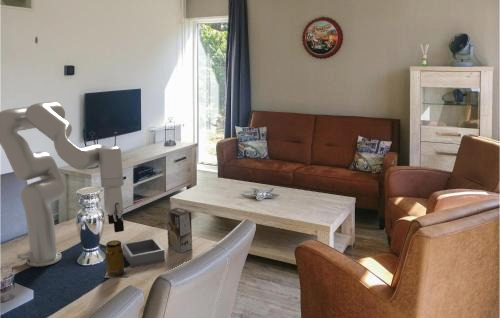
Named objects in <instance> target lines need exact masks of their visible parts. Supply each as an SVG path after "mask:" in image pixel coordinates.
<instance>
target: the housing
mask: <svg viewBox="0 0 500 318" xmlns="http://www.w3.org/2000/svg"><path fill="white" fill-rule="evenodd" d="M121 246H122V249H123V257H124V258H125V260H126V261H127V263H128V264H129V266H130V268H131V269H133V268H138V267H141V266H146V265H151V264H156V263H160V262H165V261H166V258H165V257H166V256H165V255H166V254H165V249H164V248H163V247H162V245H160V243H159V242H158V241H157V239H156V238H154V237H153V238H152V237H151V238H146V239H141V240H134V241H129V242H124V243H121Z"/></svg>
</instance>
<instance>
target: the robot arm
mask: <svg viewBox="0 0 500 318" xmlns="http://www.w3.org/2000/svg"><path fill="white" fill-rule="evenodd" d="M65 118H66V111H65V109H64V107H63V106H62V105H61V104H60V103H59V102H55V101H45V102H44V101H43V102H38V103H33V104H31V105H29V106H25V107H24V106H23V107H14V108H8V109H4V110H2V111H0V146H1V147H2V149H3V152H4V154H5V156H6V158H7V161H8V162H9V164H10V166H11V169H12V170H13V174H14V175H15V176H16V178H17V179H18V180H19V181H23V182H24V181H26V182H27V181H30V180H33V179H37V178H39V180H37V181H36V180H35V181H33V182H31V183H29V184H27V185H25V186H23V188H22V190H21V191H20V199H21V203H22V205H23V209H24V213H25V220H26V227H27V237H28V245H29V246H28V247H29V248H28V251H26V252H23V253H22V252H21V253H17V254H16V257H17V259H18V260H20V259H21V261H25V260H26V264H27V265H28V266H30V267H37V268H38V267H46V266H50V265H53V264H56V263H57V262H59V261H60V260H61V259H62V257H63V256H62V253H61V252H60V251H58V249H57V240H56V239H57V238H56V231H55V229H56V228H55V219H54V214H53V211H52V210H51V208H50V207H49V206H48V205H49V204H51V203H53V202H56V201H58V200H60V199H63V197H64V196H65V194H66V191H67V188H66V183H65V180H64V178H63V176H62V173H61V171H60V169H59V167H58V165H57V163H56V160H55V159H54V157H53V156H52V155H51V154H50V153H49V152H46V151H36V152H33V151H32V150H31V148H30V145H29V143H28V142H27V140H26V139H25V138H24V137H23V136H22V135H21V134H19V133H18V132H20V131H26V130H31V129H36V130H38V131H40V133H42V134H43V135H45V137H47V138H48V139H50V140H51V141H52V142H53V147H54V150H55V152H56V153H57V155H58V156H59V158H60V159H61V160H62V161H64V162H65V163H66V164H67V165H69V166H70V167H71V168H74V169H76V170H79V171H84V170H88V169H90V168H94V167H97V166H99V174H100V184H101V187H102V188H103V202H104V206H103V207H104V210H105V213H107V220H108V224H109V225H113V229H114V233H121V232H124V230H125V224H124V217H123V213H124V203H123V193H122V192H123V191H122V186H124V184H125V183H124V174H123V172H124V170H123V161H122V158H123V157H122V149H121V148H120V147H118V146H116V145H103V144H100V143H96V144H95V143H94V144H91V145H86V146H83V147H78V146H77V145H75V144H74V143H73V142H71V140H69V137H70V135H71V134H72V132H73V126H72V124H71V123H69V121H67V120H65Z"/></svg>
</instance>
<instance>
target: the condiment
mask: <svg viewBox="0 0 500 318" xmlns="http://www.w3.org/2000/svg"><path fill="white" fill-rule="evenodd" d="M105 246H106V250H105V258H106V273H105V276H104V278H107V279H108V278H111V279H112V278H122V277H125V278H126V277H129V276H130V273H131V271H132V270H131V269H132V267H125V261H124V255H123V246H122V241H120V240H118V239H116V240H110V241H108V242H107V243H106V245H105Z"/></svg>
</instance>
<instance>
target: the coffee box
mask: <svg viewBox="0 0 500 318" xmlns="http://www.w3.org/2000/svg"><path fill="white" fill-rule="evenodd" d="M166 227H167V245H168V247H167V248H169V249H172V250H174V251H176V252H178V253H182V254H183V253H185V252H187V250H188V251H190V250H193V235H192V232H193V231H192V229H193V228H192V211H189V210H186V209H183V208H180V207H176V208H172V209H169V210H167V211H166Z"/></svg>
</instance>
